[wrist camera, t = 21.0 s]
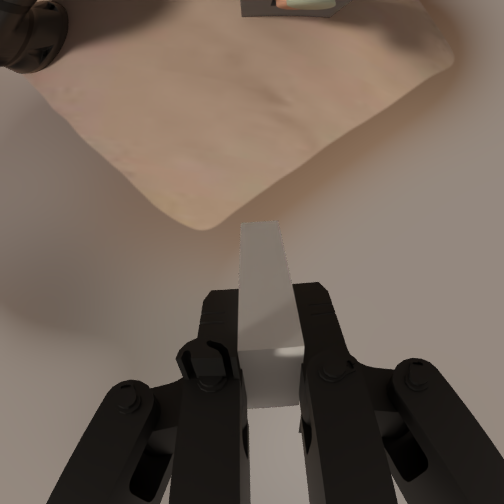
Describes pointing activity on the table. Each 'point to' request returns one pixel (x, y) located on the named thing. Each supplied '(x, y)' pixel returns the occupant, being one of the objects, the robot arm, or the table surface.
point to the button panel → (264, 4)
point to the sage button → (311, 4)
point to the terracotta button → (284, 5)
